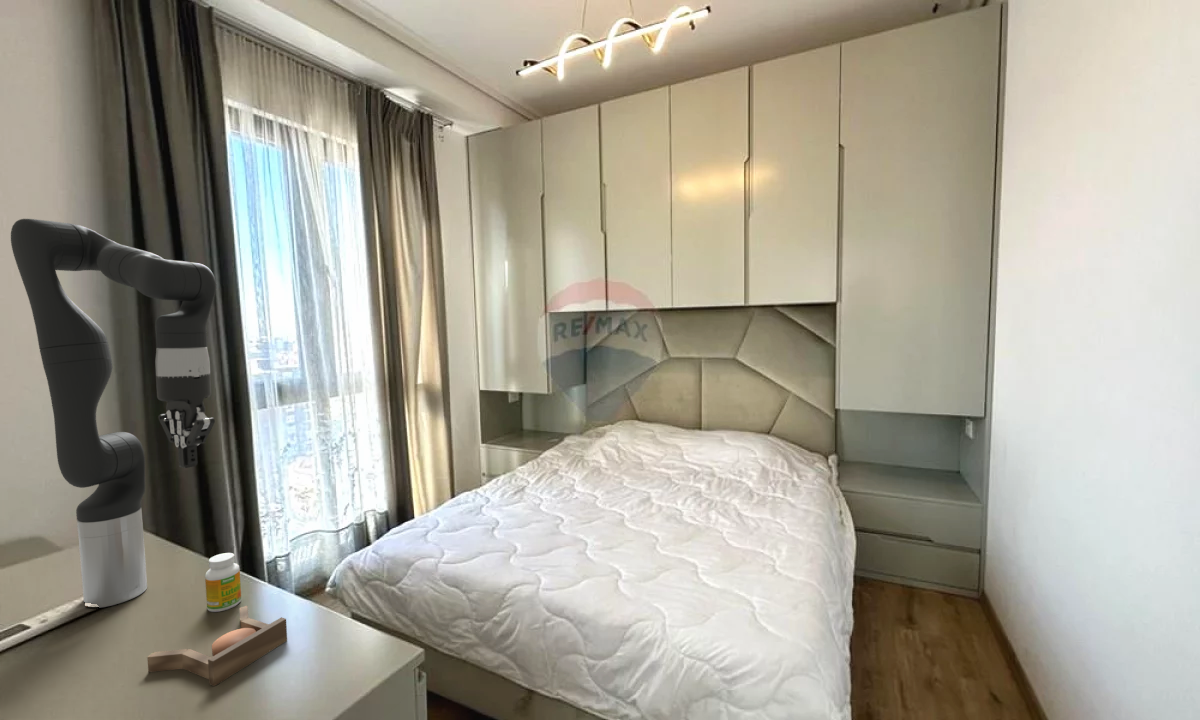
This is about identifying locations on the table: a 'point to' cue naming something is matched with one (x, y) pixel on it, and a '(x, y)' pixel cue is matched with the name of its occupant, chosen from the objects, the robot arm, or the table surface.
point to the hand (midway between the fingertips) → (188, 466)
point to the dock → (224, 652)
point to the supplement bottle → (222, 583)
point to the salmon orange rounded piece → (230, 639)
